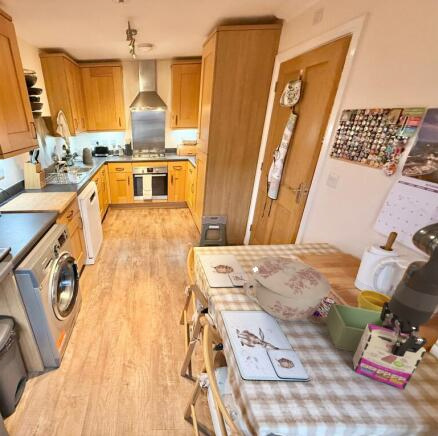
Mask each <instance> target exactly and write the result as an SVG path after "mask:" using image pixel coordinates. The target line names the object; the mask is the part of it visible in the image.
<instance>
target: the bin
mask: <svg viewBox="0 0 438 436" xmlns="http://www.w3.org/2000/svg"><path fill="white" fill-rule="evenodd" d="M380 315H381V312H378V311H373V310H367V309H362V308H358V307H357V306H351V305H345V304H340V303H334V302H331V304H330V307H329V309H328V312H327V314H326V317H325V321H324V324H325V326H326V329H327V331H328V333H329V335H330V338H331V340H332V342H333V345H334V347H335V348H336V349H341V350H345V351H349V352H353V353H355V352H356V350H357V348H358V345H359V343H360V341H361V338H362V336H363V333H364V331H365V328H366V326H367V323H369V324H372V325H376V326H379V327H383V324H382V323H383V320H381V319H380ZM388 316H389V314H386V316H385V317H388ZM393 329H394V331H395V329H396V328H393Z"/></svg>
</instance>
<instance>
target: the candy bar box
mask: <svg viewBox="0 0 438 436" xmlns="http://www.w3.org/2000/svg"><path fill="white" fill-rule="evenodd" d="M401 334H402V335H408V334H403V333H401ZM396 340H397V336H395V331H393V330H390V329H386V328H383V327H379V326H376V325H372V324H369V323H367V326H366V328H365V331H364V333H363V336H362V338H361V341H360V343H359V345H358V348H357V350H356V352H354V355H353V358H352V364H353V369H354V372H355V373H356V374H359V375H361V376H365V377H367V378H370V379H373V380H375V381H378V382H380V383H383V384H386V385H388V386H391V387H394V388H397V389H399V390H401V391H404V390H405V388H406V387H407V385H408V383H409V381H410V380H411V378H412V376H413V375H414V373H415V371H416V369H417V367H418V366H419V364H420V363H421V361H422V359H423V358H424V355H425V353H426V352H427V350H426V348H425V345H424V346H423V347H422V348H421V349H419V350H418V351H417V352H416V353H413V352H408V351H406V353H405V354H404V356H403V357H400V356H395V355H393V354H392V353H391V351H392V349H393V347H394V345H395V343H396ZM405 341H406V339H402V342H403V343H404V342H405Z"/></svg>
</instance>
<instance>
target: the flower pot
mask: <svg viewBox="0 0 438 436" xmlns="http://www.w3.org/2000/svg"><path fill="white" fill-rule="evenodd" d="M390 300H391V297H389V296H388V295H386V294H384V293H381V292H378V291H376V290H372V289H362V290H360V291H359V293H358V296H357V299H356V301H357V303H358V304H357V305H358V307H357V308H362V309H367V310H373V311H378V312H382V308H383V305H384V302H390Z"/></svg>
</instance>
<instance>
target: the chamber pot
mask: <svg viewBox="0 0 438 436" xmlns="http://www.w3.org/2000/svg"><path fill="white" fill-rule="evenodd" d="M250 268H251V269H250V270H251V274H252V275H253V277H250V278H248V279H246V280H245V281H244V283H243V286H242V289H243V292H244V294H245V295H246V296H247V297H248V298H250V299H251V300H253V301H255V302H256V304H257V305H258V306H260V307H261V309H263V310H264V311H265V313H268V314H269V315H271V316H272V317H274V318H276V319H279V320H282V321H286V322H298V321H302V320H305V319H307V318H310V317H312V316H313V315H314V314H315V313H316V312H317V310H318V309H319V308H320V306H321V304H322V301H323V298H326V297H327V296H328V295H329V294H330V293H331V289H332V286H331V283H330V281H329V278H327V277H326V276H325V275H324V274H323V273H322V272H321V271H319V270H318V269H316V268H315V267H314V266H312V265H309V264H307V263H305V262H303V261H301V260H297V259H293V258H289V257H285V256H284V257H283V256H265V257H261V258H258V259H256V260H254V261H253V263H252V264H251V266H250ZM250 286H252V293H250V292H249V289H250V288H251V287H250Z"/></svg>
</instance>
